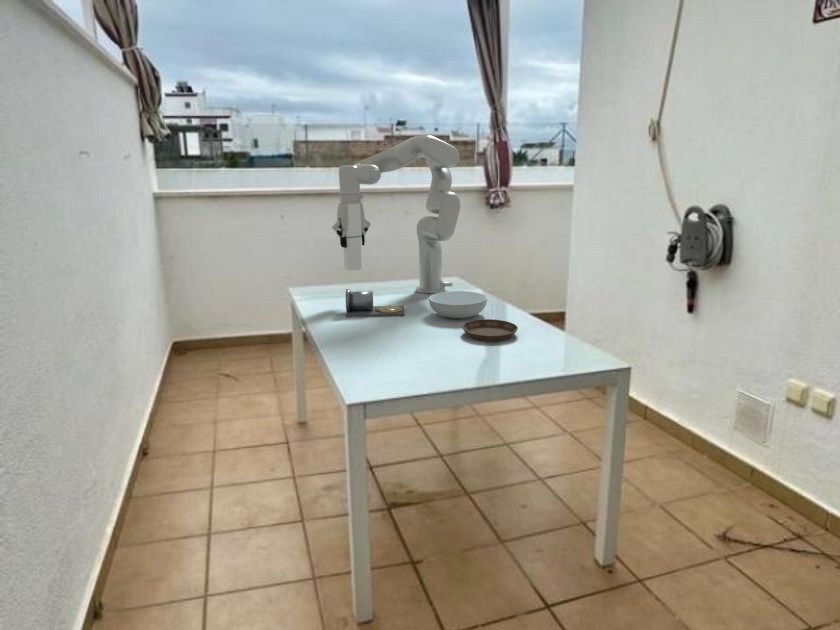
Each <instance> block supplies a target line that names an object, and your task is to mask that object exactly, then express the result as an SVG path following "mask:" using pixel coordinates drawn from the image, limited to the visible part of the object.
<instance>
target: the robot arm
mask: <svg viewBox="0 0 840 630" xmlns="http://www.w3.org/2000/svg"><path fill="white" fill-rule="evenodd" d="M422 158H423V159H424V160H425V163H426V164H427V167H428V168H429V170H430V174H431V182H430V186H429V189H428V193H427V198H426V203H425V206H426V207H425V208H426V210H427V211H428V213H431V214H435V215H438V216H430V215H429V216H428V215H427V216H426V215H425V216H423V217H421V218H420V219H419V221H418V222H417V224H416V234H417V239H418V247H419V248H418V252H419V253H418V258H419V259H418V260H419V261H418V263H419V264H418V265H419V267H418V269H419V273H418V274H419V278H418V280H419V286H417V287H416V288H415V291H416V292H418V293H422V294H436V293H440V292H446V287H453V282H452V281H444V280H443V277H442V274H443V273H442V272H443V269H442V265H443V264H442V259H443V257H442V255H443V254H442V253H443V252H442V244H441V242H448V241H449V240H450V239H451V238H452V237H453V235H454V234H455V233H454V232H455V230H456V226H457V222H458V220H459V219H458V218H459V215H460V211H461V199H460V197H459V196H458V194H457V193H455V192H452V191H451V188H452V184H453V178H452V177H453V176H452V173H451V170H450V168H451V169H452V168H454V167H455V166H457V165H458V163H459V161H460V153H459V150H458V149H457V148H456V147H455V146H454V145H452V144H450V143H447V142H446V141H443V140H442V139H439V138H437V137H435V136H433V135H429V134H428V135H427V134H426V135H415V136H412V137H409V138H408V139H406V140H404V141H402V142H401V143H398V144H397V145H395V146H393V147H391V148H389V149H386V150H383V151H381V152H379V153H376V154H374V155H371V156H368V157H366V158H364V159H363V160H361V161H359V162H356V163H355V164H353V165H351V164H350V165H349V164H347V165H341V166H340V167H339V168H338V182H339V198H340V201H339V203H338V204H337V205H338V206H337V211H336V212H337V213H336V222H335V223H334V224H333V225H332V227H331V228H332V230H333V231H334V232H335V234H337V236H338V237H339V241H340V242H339V244H340V247H341V248H343V249H344V248H346V247H347V243H346V237H345V234H346V230H347V229H348V207H347V204H355V203H360V214H361V232H362V235H361V236H362V246H365V242H366V240H365V239H366V238H365V236H366V235H367V232H368V230H369V228H370V227H371V222H370V221H368V220H367V219H366V218H365V217H366V216H365V210H364V205H363V202H361V200H362V199H363V198H364V196H363V195H361V187H360V186H361V185H365V186H366V185H369V186H371V185H375V184H377V183H379V181H380V180H381V177H382V173H388V172H395V171H397V170H401V169H402V168H404V167H406V166H407V165H409V164H411V163H413V162H415V161H417V160H419V159H422Z"/></svg>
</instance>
